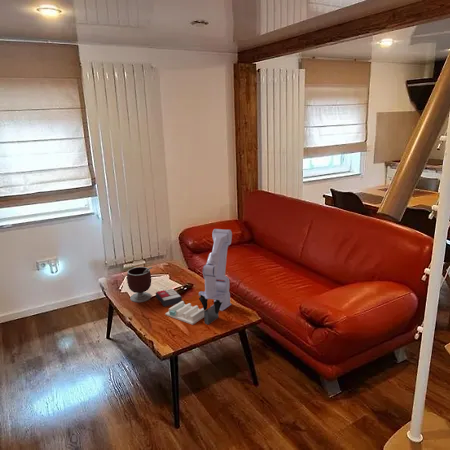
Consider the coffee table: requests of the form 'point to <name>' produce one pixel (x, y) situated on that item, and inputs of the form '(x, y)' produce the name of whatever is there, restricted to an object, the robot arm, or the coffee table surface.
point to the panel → (210, 315)
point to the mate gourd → (139, 283)
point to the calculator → (168, 297)
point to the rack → (186, 313)
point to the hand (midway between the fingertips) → (211, 311)
